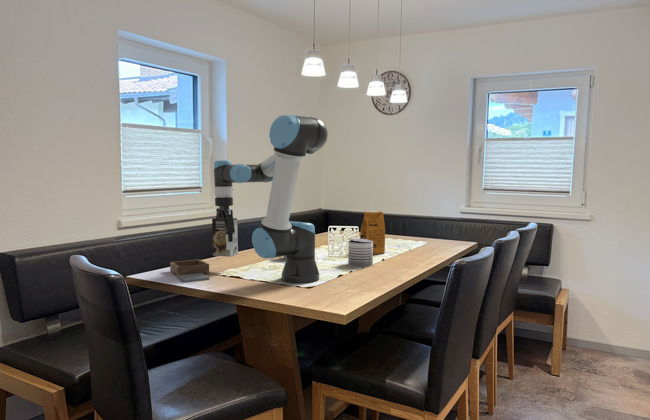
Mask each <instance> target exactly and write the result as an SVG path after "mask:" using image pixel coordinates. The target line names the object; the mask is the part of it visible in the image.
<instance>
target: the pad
mask: <svg viewBox="0 0 650 420" xmlns="http://www.w3.org/2000/svg"><path fill="white" fill-rule="evenodd" d="M176 277H177V279H179V280H180V281H181V282H183V283H192V282H193V283H194V282H199V281H209V280H210V276H208V275H207V274H203V273H193V274H184V275H177V276H176Z"/></svg>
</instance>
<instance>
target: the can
mask: <svg viewBox="0 0 650 420" xmlns="http://www.w3.org/2000/svg"><path fill="white" fill-rule="evenodd" d="M347 255H348V259H347V260H348V262H347V263H348V264H347V265H348V266H351V267H357V268H366V267H371V266H373V263H374V262H373V260H374V259H373V258H374V254H373V241H371V240H367V239H360V238H359V237H358V238H357V237H356V238H354V237H352V238H348V254H347Z"/></svg>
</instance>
